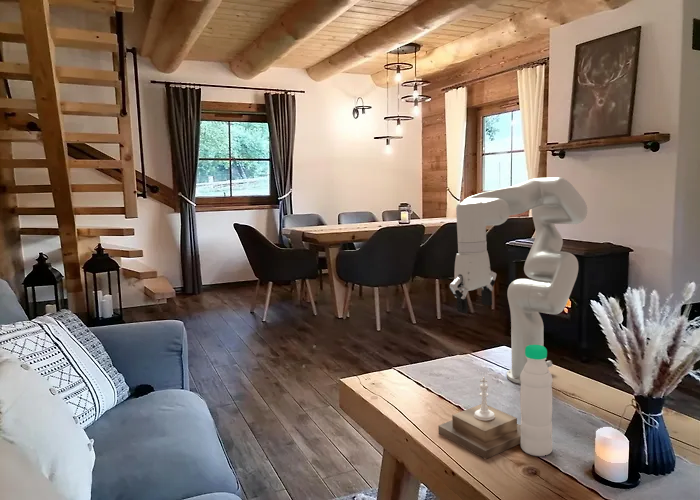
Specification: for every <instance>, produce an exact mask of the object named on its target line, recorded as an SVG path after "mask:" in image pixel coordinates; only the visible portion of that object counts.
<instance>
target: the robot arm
mask: <svg viewBox="0 0 700 500" xmlns="http://www.w3.org/2000/svg"><path fill="white" fill-rule="evenodd" d="M530 210H531V216H532V220H533V224H534V229H535V238H534V241H533V243H532V246H531V248H530V250H529V253H528V254H527V257H526V259H525V262H524V266H523V271H524V274H525V276H527V277H528V278H517V279H515V280H513V281H511V283H510V284H509V285H508V288H507V300H508V305H509V311H510V322H511V323H510V327H511V329H510V331H511V332H510V335H511V337H510V338H511V339H510V340H511V369H509V370H507V372H506V378H507V379H508V380H509V381H511V382H513V383H516V384H519V385H521V381H520V374H521V372H522V370H523V369H524V366H525V364H526V363H527V358H526V355H525V348H526V347H527V346H528V345H541V346H544V322H543V318H542V316H541V314H540V313H543V314H547V315H548V314H549V315H558V314H560V313H562V312H563V311H564V310H565V307H566V305H567V304H568V301H569V299H570V296H571V294H572V291H573V288H574V286H575V283H576V281H577V278H578V273H579V261H578V259H577V257H576V256H575V255H574V254H572V253H570V252H567V251H561V250H562V248H563V244H564V240H563V237H562V235H561V233H560V232H559V230H558V228H557V226H556V225H578V224H581V223H583V222H584V221H585V219H587V216H588V205H587V202H586V200H585V199H584V197H583V196H582V195H581V193H580V192H579V191H578V190H577V189H576V187H575V186H574V185H573V184H572V183H571V182H570V181H568V179H565V178H564V177H560V176H559V177H558V176H557V177H536V178H530V179H529V180H525V181H522V182H520V183H517V184H513V185H512V186H511V185H510V186H507V187H501V188H498V189H494V190H490V191H484V192H481V193H477V194H474V195H471V196H468V197H466V198H464V199H463V200H462V201H461V202H458V204H457V205H456V208H455V211H456V232H457V234H456V235H457V251H458V253H456V255H455V261H454V279H453V281H452V282H451V283H450V284H449V289H450V291H451V293H452V295H453V296H454V298H456V305H457V306H456V309H457V312H458V313H461V314H462V313H463V314H467V313H468V312H469V311H468V308H469V307H468V298H466V297H467V295H468V293H469V291H474V290H477V289H481V304H483V305H486V306H492V305H493V295H492V294H493V293H492V292H493V291H494V286H495V283H496V278H497V273H496V272H494V271H493V270H491V263H490V256H489V253H488V250H487V248H488V247H487V243H488V242H487V226H500V225H502V224H505V222H506V221H507V220H509V218H510V216H515V215H520V214H524V213H526V212H528V211H530ZM545 363H546V365H547V367H548V368H550V367H552V366H553V361H552V360H547V361H546V360H545Z"/></svg>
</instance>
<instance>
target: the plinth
mask: <svg viewBox="0 0 700 500" xmlns="http://www.w3.org/2000/svg"><path fill="white" fill-rule="evenodd" d="M487 407H488V409H489V410H490V411H492V412H494V416H495V418H494V419H492V420H487V421H484V420H479V419H477V418H475V416H474V414H475V411H477V410H480V408H481V404H478V405H475V406H473V407H470V408H467V409H465V410H462V411H459V412H457V413H453V414H452V416H451V417H452V419H451V420H449V421H447V422H443V423H442V424H438V426H437V427H438V428H437V429H438V434H440V435H441V436H444V437H445V438H447V439H449V440H450V441H452V442H454V443H456V444H458V445H460V446H462V447H463V448H465V449H467V450H468V451H471V452H472V453H474V454H476V455H477V456H479V457H482V458H483V459H484V460H487V459H490V458H491V457H493V456H496V455H498V454H500V453H504V452H505V451H507V450H509V449H511V448H514V447H516V446H518V445H521V424H519V423H518V418H517V417H515V416H513V415H511V414H509V413H507V412H504V411H502V410H499V409H497V408H495V407H492V406H491V405H488V404H487Z"/></svg>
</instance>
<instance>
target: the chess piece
mask: <svg viewBox="0 0 700 500" xmlns="http://www.w3.org/2000/svg"><path fill="white" fill-rule="evenodd" d="M479 382H480V384H479V388H480V390H481V392H480V393H479V396H480V397H481V408H480V410H477V411H475V414H474V416H475V418H477V419H479V420H484V421H487V420H492V419H494V418H495V416H494V412H492V411H490V410H489V409H488V407H487V405H488V402H487V397H489V393H488V392H487V391H488V389H489V384H488V379H485V377H482V379H480V380H479Z"/></svg>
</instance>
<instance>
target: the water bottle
mask: <svg viewBox="0 0 700 500" xmlns="http://www.w3.org/2000/svg"><path fill="white" fill-rule="evenodd" d="M525 355H526V358H527V363H526V364H525V366H524V369H523V370H522V372H521V374H520V381H521V384H520V391H519V392H520V395H519V396H520V399H519V401H520V403H519V404H520V408H519V409H520V419H521V420H520V425H521V443H520V448H521V449H522V451H523V452H525V453H526V454H527V455H531V456H534V457H545V455H546V456H548V455H550V454H551V453H552V452H553V437H552V436H553V423H552V421H553V420H552V419H553V389H552V388H553V387H552V384H553V375H552V373H551V372H550V370H549V367H547V365H546V363H545V362H546V360H547V357H548V349H547V348H546V347H545V346H544V345H543V346H541V345H528V346H527V347H526V348H525Z"/></svg>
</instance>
